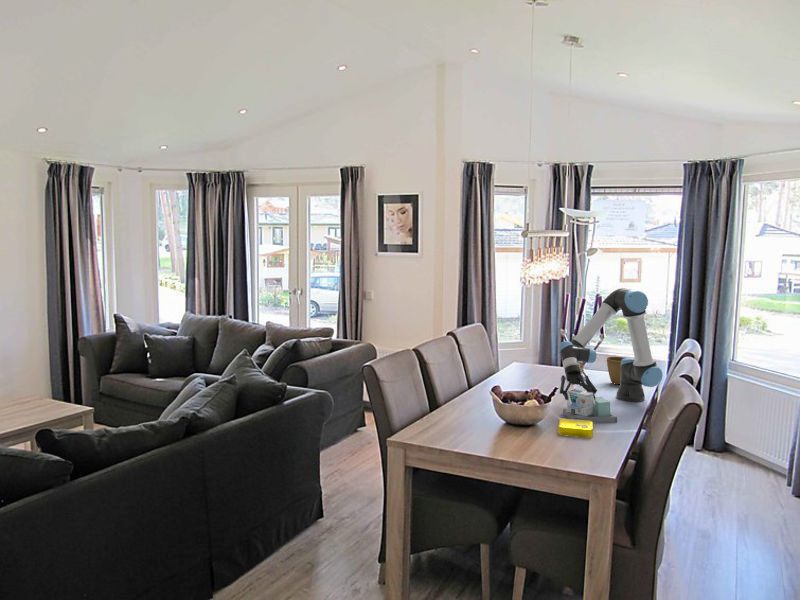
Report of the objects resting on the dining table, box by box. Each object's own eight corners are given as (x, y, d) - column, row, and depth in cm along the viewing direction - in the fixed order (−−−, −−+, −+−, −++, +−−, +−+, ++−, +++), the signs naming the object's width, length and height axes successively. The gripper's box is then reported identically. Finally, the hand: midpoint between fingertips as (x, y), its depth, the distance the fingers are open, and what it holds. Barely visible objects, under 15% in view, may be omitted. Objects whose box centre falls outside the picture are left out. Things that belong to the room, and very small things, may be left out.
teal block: (601, 413, 308) (601, 396, 307) (610, 419, 298) (610, 401, 297) (590, 414, 307) (589, 397, 306) (598, 420, 297) (598, 402, 296)
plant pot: (601, 383, 382) (602, 358, 381) (613, 380, 392) (614, 355, 391) (623, 387, 371) (624, 361, 370) (635, 384, 381) (636, 359, 380)
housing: (602, 414, 311) (602, 408, 311) (616, 423, 295) (617, 417, 295) (563, 415, 309) (563, 409, 309) (575, 424, 293) (575, 417, 293)
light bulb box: (566, 412, 303) (567, 390, 302) (573, 409, 308) (574, 388, 307) (585, 416, 295) (586, 394, 294) (593, 414, 300) (593, 392, 299)
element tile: (592, 429, 286) (592, 419, 286) (592, 439, 272) (592, 428, 272) (559, 426, 291) (560, 416, 291) (557, 435, 277) (558, 425, 276)
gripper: (591, 372, 316) (602, 409, 302) (547, 372, 314) (556, 409, 300) (596, 364, 311) (608, 401, 296) (551, 363, 308) (561, 401, 294)
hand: (582, 405), depth 298 cm, fingers closed on light bulb box, 11 cm apart
